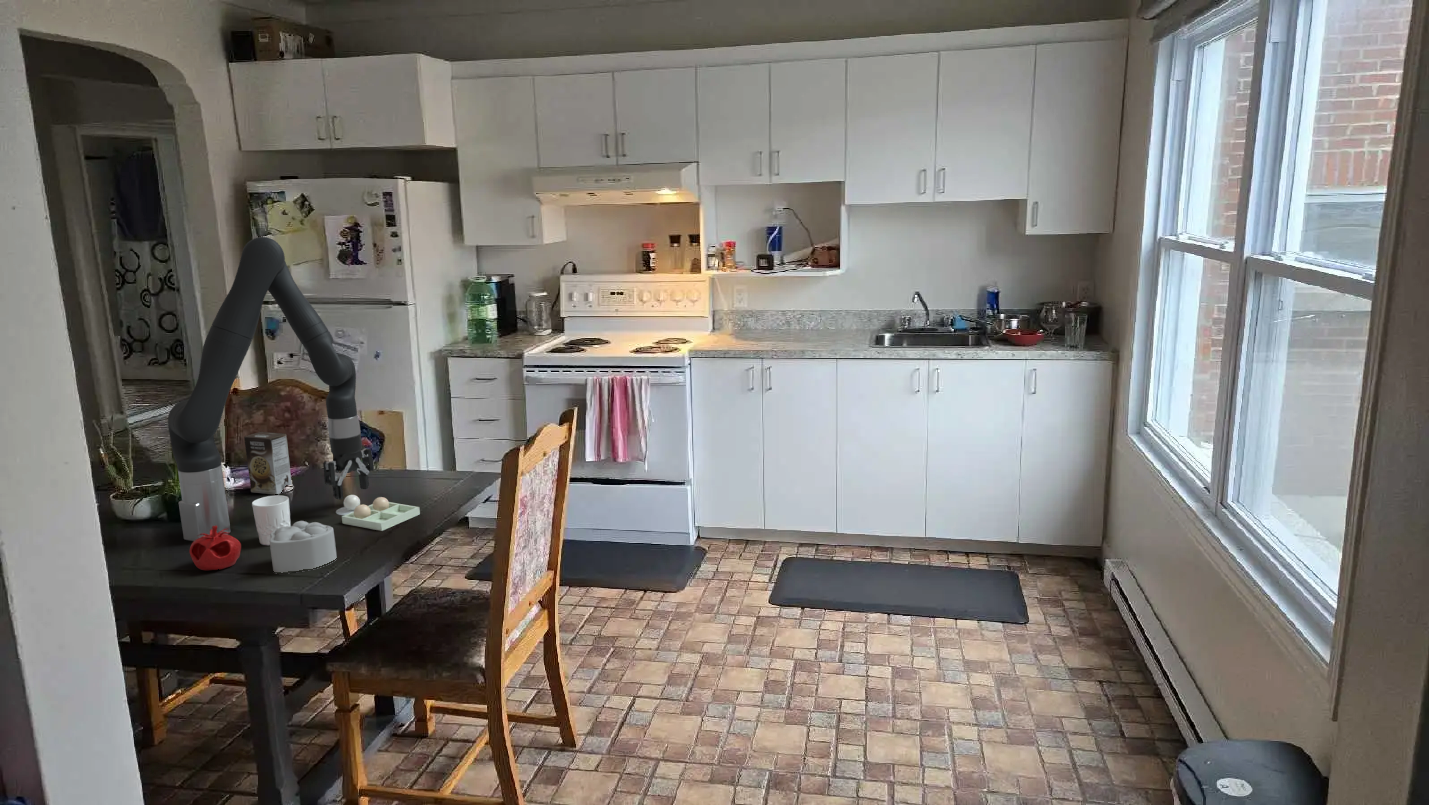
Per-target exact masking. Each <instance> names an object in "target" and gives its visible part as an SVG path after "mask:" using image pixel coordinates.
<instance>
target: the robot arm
mask: <svg viewBox="0 0 1429 805" xmlns="http://www.w3.org/2000/svg"><path fill="white" fill-rule="evenodd" d="M285 257H286V256H285V253H284V249H283V247H282V246H281V245H280V244H279V243H278V242H277V241H276V240H274V238H271V237H266V236H260V237H255V238H253V239H251V240H249V241H248V242H247V243H246V244H245V245H244V247H243V248H242V251H241V257H240V259H239V264H238V267H237V271H236V274H235V277H234V280H233V282H232V285H231V287H230V289H229V291H228V293H227V295H226V296H225V298H224V300H223V302H222V303H221V306H220V307H219V309H218V311H217V312H216V314H215V318H214V320H213V321H212V324H211V325H210V328H209V329H208V332H207V335H206V337H205V340H204V343H203V346H202V350H201V356H200V364H199V365H200V366H199V370H198V371H199V372H198V376H197V381H196V384H195V385H194V388H193V389H192V392H191V394H190V396H189V397H188V399H184V400H181V401H178V402H177V403H175V404H174V405H173V406H172V408H171V409H170V410H169V413H168V415H167V425H168V426H167V427H168V433H169V439H170V445H171V450H172V454H173V458H174V460H175V462H176V463H175V464H176V466H177V472H178V473H177V474H178V480H179V489H180V494H181V500H180V501H178V507H179V515H180V521H181V522H180V523H181V527H182V528H181V529H182V534H183V539H184V540H186V541H190V542H194V541H195V540H196V539H198V538H201V537H203V536H205V535H199V534H202V533H205V534H209V535H210V531H209V530H210V529H212V526H216V525H217V533H218V532H220V531H222V530H223V529H227V528H228V529H227V530H224V531H222V532H228V533H229V532H230V533H231V524H230V517H229V509H228V508H229V507H228V503H227V495H226V488H225V482H224V481H225V480H224V474H223V466H222V460H221V459H222V458H221V454H220V452H219V449H218V448H217V444H216V442H215V441H216V440H215V436H214V435H216V432H217V431H218V429H219V426H220V423H221V420H222V416H223V413H224V409H225V406H226V402H227V399H228V396H229V394H230V391H231V388H232V386H233V384H234V382H235V380H236V378H237V376H238V374H239V371H240V369H241V366H242V364H243V361H244V360H245V357H246V355H247V353H248V351H249V349H250V346H251V344H252V342H253V339H254V336H255V333H256V331H257V327H258V323H259V320H260V315H261V312H262V307H263V304H264V300H265V297H266V295H267V293H268V292H269V294H270V295H271V296H272V298H273V299H274V301H275V302H276V304H277V305H278V306H279V308H280V311H281V312H282V313H283V316H284V317H285V319H286V321H287V323H288V324H289V326H290V327H291V329H292V331H293V332H294V334H295V335H296V337H297V339H298V340H299V341H300V344H301V345H302V346H303V348H304V349H305V350H306V352H307V354H308V357H309V361H310V362H311V365H312V367H313V369H314V371H315V372H314V373H315V374H316V376H318V378H319V379H320V380H321V381H322V382H323V384H324V385H327V386H328V394H327V396H326V398H325V408H326V416H327V432H328V438H329V439H328V440H329V446H330V453H332V455H333V460H331V461H323V463H322V467H323V479H324V484H325V486H326V485H327V486H332V494H333V497H334V498H335V500H340V501H341V500H344V499H345V497H344V491H343V485H342V483H343V480H344V479H345V478H346V476H347V474H349V473H351V472H353V471H354V472H355V471H357V473H358V474H359V475H358V479H359V480H358V481H359V488H360V489H361V490H367V489H369V486H370V481H369V480H370V479H369V474H370V472H371V471H374V470H375V465H374V459H373V454H372V450H371V449H370V448H364V447H363V442H362V434H361V425H360V424H361V423H360V420H359V416H358V411H357V410H358V409H357V403H356V402H357V400H356V387H357V386H356V385H357V384H356V383H357V371H356V365H355V363H354V360H352V358H350V356H348V355H347V354H344V353H337V352H336V350H335V347H334V346H333V343H334V337H333V335H332V333H331V332H330V330H329V329H328V327H327V326H326V324H325V322H324V321H323V319H322V318H321V316H320V315H319V313H317V311H316V309H315V308H314V307H313V306H312V304H311V302H310V301H308V299H307V298H306V297H305V296H304V294H303V293H302V291H301V290H300V288H299V287H298V284H297V283H296V282H295V280H294V278H293V276H292V274H291V271H290V270H289V267H288V265H287V262H286V258H285ZM212 530H213V529H212ZM222 532H221V533H222ZM230 533H229V534H230ZM229 534H227V535H229ZM198 535H199V536H198Z"/></svg>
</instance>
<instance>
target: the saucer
mask: <svg viewBox="0 0 1429 805" xmlns="http://www.w3.org/2000/svg"><path fill="white" fill-rule="evenodd" d="M352 512H354V510H348V509H346V508H345V506H342V507H340V508H338V509H336V510H335V513H336V514H337V515H339V516H344V515H347V514H349V513H352Z"/></svg>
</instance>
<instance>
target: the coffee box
mask: <svg viewBox="0 0 1429 805" xmlns="http://www.w3.org/2000/svg"><path fill="white" fill-rule="evenodd" d="M243 439H244V446H245V453H246V455H245V456H246V460H247V461H246V463H247V470H248V471H247V472H248V477H249V485H250V492H251V493H255V494H256V493H257V494H264V495H265V494H267V495H275V494H278V495H280V494H282V493H283V492H282V490H283V489H284V488H285V486H286V485H292V486H293V483H292V475H291V466H290V457H289V448H288V438H287V433H279V432H267V431H258V432H255V433H251V434H249V435H245V436H244V437H243ZM281 492H282V493H281Z"/></svg>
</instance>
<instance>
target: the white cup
mask: <svg viewBox="0 0 1429 805" xmlns="http://www.w3.org/2000/svg"><path fill="white" fill-rule="evenodd" d="M251 507H252V510H253V511H252V512H253V515H254V516H253V517H254V522H255V526H256V532H257V534H258V539H259V540H258V541H259V543H260V544H261V545H262V546H270V539H271V537H270V534H271V533H272V532H273V531H276V530H277V529H278V528H280V527H285V526H292V525H291V511H290V498H289V496H286V495H280V494H278V495H268V496H263V497H261V498H257V499H255V500H253V501H252V502H251Z"/></svg>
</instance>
